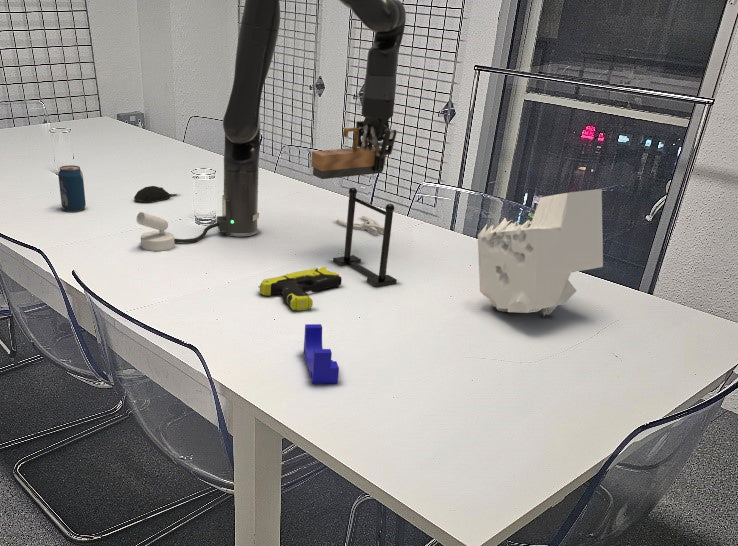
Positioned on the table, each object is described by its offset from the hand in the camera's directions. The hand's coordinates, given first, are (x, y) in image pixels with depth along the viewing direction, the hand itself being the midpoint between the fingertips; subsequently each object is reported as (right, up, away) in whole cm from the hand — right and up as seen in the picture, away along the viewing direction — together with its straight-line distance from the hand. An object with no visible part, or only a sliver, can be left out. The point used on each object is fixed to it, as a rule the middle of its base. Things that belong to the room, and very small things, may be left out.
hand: (372, 169), depth 184 cm
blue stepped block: (-17, -52, -47) cm, 72 cm away
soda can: (-83, 0, +37) cm, 91 cm away
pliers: (+2, -8, +28) cm, 29 cm away
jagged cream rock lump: (+30, -38, -21) cm, 53 cm away
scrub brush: (-6, -2, -2) cm, 7 cm away
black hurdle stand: (-3, -26, -3) cm, 26 cm away
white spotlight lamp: (-55, -17, +10) cm, 58 cm away
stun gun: (-17, -34, -17) cm, 41 cm away
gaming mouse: (-60, +6, +49) cm, 78 cm away
